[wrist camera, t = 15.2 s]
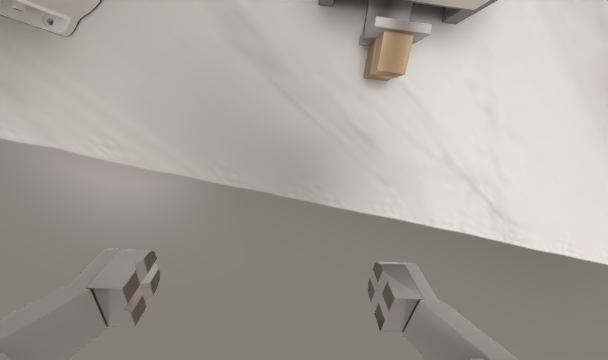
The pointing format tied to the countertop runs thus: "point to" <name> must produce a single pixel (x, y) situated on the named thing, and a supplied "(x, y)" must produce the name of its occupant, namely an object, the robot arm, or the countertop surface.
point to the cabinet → (458, 5)
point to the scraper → (390, 38)
